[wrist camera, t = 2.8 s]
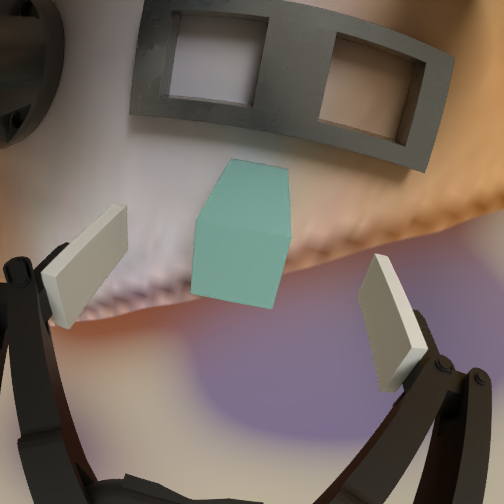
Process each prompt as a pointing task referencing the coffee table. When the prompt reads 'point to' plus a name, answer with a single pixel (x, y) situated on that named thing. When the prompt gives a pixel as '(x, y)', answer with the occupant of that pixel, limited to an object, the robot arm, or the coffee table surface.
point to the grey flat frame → (293, 76)
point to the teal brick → (243, 235)
